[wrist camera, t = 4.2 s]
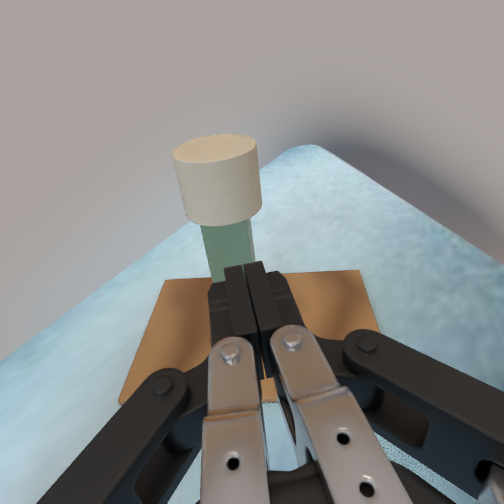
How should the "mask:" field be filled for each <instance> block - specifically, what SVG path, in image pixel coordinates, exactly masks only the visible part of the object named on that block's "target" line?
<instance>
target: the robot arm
mask: <svg viewBox="0 0 504 504" xmlns="http://www.w3.org/2000/svg"><path fill="white" fill-rule="evenodd" d="M243 267H244V271H243ZM243 267H242V264H241V265H236V266H230V267H225V268H224V275H225V281H221V282H216V283H212V284H211V287H210V289H209V291H208V293H207V294H208V304H209V305H208V306H209V317H210V329H211V340H212V347H211V350H210V352H209V355H208V356H207V358H206V359H205V360H204V361H203V362H202V363H201V364H199V365H198V366H196V367H194V368H192V369H190V370H188V371H186V372H184V373H183V372H182V371H181V370H179V369H176V368H163V369H160V370H157V371H155V372H154V373H152V374H151V375H149V376H148V377H147V378H146V379H145V380H144V381H143V383H142V384H141V385H140V386H139V387H138V388H137V389H136V391H135V392H134V393H133V394H132V395H131V396H130V397H129V398H128V400H127V401H126V402H125V403H124V404H123V405H122V406H121V408H120V409H119V410H118V411H117V412H116V413H115V414H114V416H113V417H112V418H111V419H110V420H109V421H108V422H107V424H106V425H105V426H104V427H103V428H102V429H101V430H100V432H99V433H98V434H97V435H96V436H95V437H94V438H93V440H92V441H91V442H90V443H89V444H88V445H87V446H86V448H85V449H84V450H83V451H82V452H81V453H80V454H79V456H78V457H77V458H76V459H75V460H74V461H73V462H72V464H71V465H70V466H69V467H68V468H67V469H66V470H65V471H64V473H63V474H62V475H61V476H60V477H59V478H58V479H57V481H56V482H55V483H54V484H53V485H52V486H51V487H50V489H49V490H48V491H47V492H46V493H45V494H44V495H43V497H42V498H41V499H40V500H39V501H38V502H37V503H36V504H167V502H168V501H169V499H170V498H171V496H172V494H173V493H174V491H175V490H176V488H177V486H178V485H179V483H180V482H181V480H182V478H183V477H184V475H185V474H186V472H187V470H188V469H189V467H190V466H191V464H192V462H193V461H194V459H195V458H196V456H197V454H198V453H199V451H200V450H201V448H202V457H201V488H200V500H199V501H198V502H197V503H195V504H456V503H455V502H453V501H452V500H451V499H449V498H448V497H447V496H445V495H444V494H442V493H441V492H440V491H438V490H437V489H436V488H434V487H433V486H431V485H430V484H429V483H427V482H426V481H425V480H423V479H422V478H420V477H419V476H418V475H416V474H415V473H413V472H412V471H411V470H409V469H407V468H405V467H404V466H402V465H400V464H398V463H395V462H393V461H391V460H389V459H388V457H387V455H386V454H385V452H384V450H383V448H382V446H381V445H380V443H379V441H378V439H377V437H376V435H375V434H374V432H375V433H377V434H378V435H380V436H381V437H383V438H384V439H386V440H387V441H389V442H390V443H392V444H393V445H395V446H396V447H398V448H399V449H401V450H402V451H404V452H405V453H407V454H409V455H410V456H412V457H413V458H415V459H416V460H418V461H419V462H421V463H422V464H424V465H425V466H427V467H428V468H430V469H431V470H433V471H434V472H436V473H437V474H439V475H440V476H442V477H443V478H445V479H446V480H448V481H449V482H451V483H452V484H454V485H455V486H457V487H458V488H460V489H461V490H463V491H464V492H466V493H467V494H469V495H470V496H472V497H473V498H475V499H476V500H478V503H479V504H504V392H502V391H500V390H498V389H496V388H494V387H492V386H490V385H488V384H486V383H483V382H481V381H479V380H477V379H475V378H473V377H471V376H469V375H467V374H465V373H462V372H460V371H458V370H456V369H454V368H452V367H450V366H448V365H446V364H444V363H441V362H439V361H437V360H435V359H433V358H431V357H429V356H427V355H425V354H423V353H420V352H418V351H416V350H414V349H412V348H410V347H408V346H406V345H404V344H402V343H399V342H397V341H395V340H393V339H391V338H389V337H387V336H385V335H383V334H381V333H378V332H376V331H373V330H369V329H358V330H354V331H352V332H350V333H348V334H347V335H346V337H345V338H344V340H333V339H325V338H321V337H318V336H316V335H314V334H313V333H312V332H311V331H310V330H308V329H307V328H306V326H305V324H304V322H303V319H302V317H301V314H300V312H299V309H298V307H297V304H296V302H295V299H294V297H293V294H292V292H291V289H290V287H289V284H288V282H287V279H286V278H285V277H284V276H283V275H282V274H281V273H279V272H278V271H274V272H269V273H266V272H265V269H264V266H263V263H262V261H257V262H251V263H246V264H243ZM244 274H245V276H244ZM261 356H262V357H261ZM262 361H263V363H262ZM263 365H264V369H265V374H266V378H267V379H268V378H272V377H273V379H274V383H275V387H276V394H277V400H278V403H279V406H280V409H281V412H282V415H283V418H284V421H285V424H286V426H287V429H288V432H289V435H290V438H291V441H292V444H293V447H294V450H295V454H296V457H297V462H298V466H299V468H297V469H295V470H293V471H270V465H269V458H268V450H267V441H266V433H265V425H264V417H263V408H262V388H261V382H260V380H263V379H265V377H264V370H263ZM373 431H374V432H373Z"/></svg>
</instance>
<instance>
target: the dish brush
mask: <svg viewBox="0 0 504 504" xmlns="http://www.w3.org/2000/svg"><path fill="white" fill-rule="evenodd" d="M172 158H173V162H174V167H175V171H176V174H177V179H178V183H179V188H180V192H181V196H182V200H183V205H184V209H185V213H186V216H187V218H188V219H189V220H190V221H192V222H193V223H196V224H199V225H200V226H201V231H202V236H203V240H204V245H205V249H206V254H207V259H208V263H209V268H210V273H211V277H212V282H213V283H216V282H221V281H225V275H224V268H225V267H230V266H236V265H241V264H242V267H243V264H246V263H251V262H255V254H254V245H253V237H252V229H251V221H250V218H251V217H252V216H254V215H255V214H256V213H257V212H258V211H259V210H260V209H261V206H262V197H261V187H260V176H259V166H258V156H257V146H256V141H255V140H254V139H253V138H252V137H249V136H246V135H239V134H221V135H220V134H219V135H211V136H205V137H201V138H197V139H193V140H190V141H188V142H185V143H183V144H181V145H179V146H178V147H176V148H175V149H174V150H173V152H172ZM243 271H244V267H243ZM244 276H245V274H244ZM209 341H210V344H211V347H212V340H211V329H210V333H209Z"/></svg>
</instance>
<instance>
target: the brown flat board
mask: <svg viewBox="0 0 504 504" xmlns="http://www.w3.org/2000/svg"><path fill="white" fill-rule="evenodd" d="M282 275H283V276H284V277H285V278H286V279H287V282H288V284H289V287H290V289H291V292H292V294H293V297H294V299H295V302H296V304H297V307H298V309H299V312H300V314H301V317H302V319H303V322H304V324H305V326H306V328H307V329H308V330H310V331H311V332H312V333H313V334H314V335H316V336H318V337H321V338H325V339H333V340H344V338H345V337H346V335H347V334H348V333H350V332H352V331H354V330H358V329H369V330H373V331H376V332H378V333H380V331H379V328H378V325H377V322H376V319H375V316H374V314H373V311H372V308H371V305H370V302H369V299H368V296H367V293H366V290H365V287H364V284H363V281H362V278H361V275H360V272H359V270H344V271H325V272H306V273H286V274H282ZM212 283H213V282H212V277H210V278H191V279H172V280H165V282H164V285H163V287H162V290H161V292H160V295H159V297H158V300H157V302H156V305H155V307H154V310H153V313H152V315H151V318H150V320H149V323H148V325H147V328H146V330H145V333H144V335H143V338H142V341H141V343H140V346H139V348H138V351H137V353H136V356H135V358H134V361H133V363H132V366H131V369H130V371H129V374H128V376H127V379H126V381H125V384H124V386H123V389H122V391H121V394H120V397H119V399H118V403H119V404H120V405H123V404H124V403H125V402H126V401H127V400H128V398H129V397H130V396H131V395H132V394H133V393H134V392H135V391H136V389H137V388H138V387H139V386H140V385H141V384H142V383H143V381H144V380H145V379H146V378H147V377H148V376H149V375H151V374H152V373H154V372H155V371H157V370H160V369H163V368H176V369H179V370H181V371H182V372H183V373H184V372H186V371H188V370H190V369H192V368H194V367H196V366H198V365H199V364H201V363H202V362H203V361H204V360H205V359H206V358H207V356H208V355H209V352H210V350H211V344H210V341H209V333H210V317H209V306H208V305H209V304H208V294H207V293H208V291H209V289H210V287H211V284H212ZM261 357H262V356H261ZM262 363H263V361H262ZM263 370H264V377H265V379H263V380H260V382H261V388H262V402H278V400H277V394H276V387H275V383H274V379H273V377H272V378H268V379H267V378H266V374H265V369H264V365H263Z"/></svg>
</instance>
